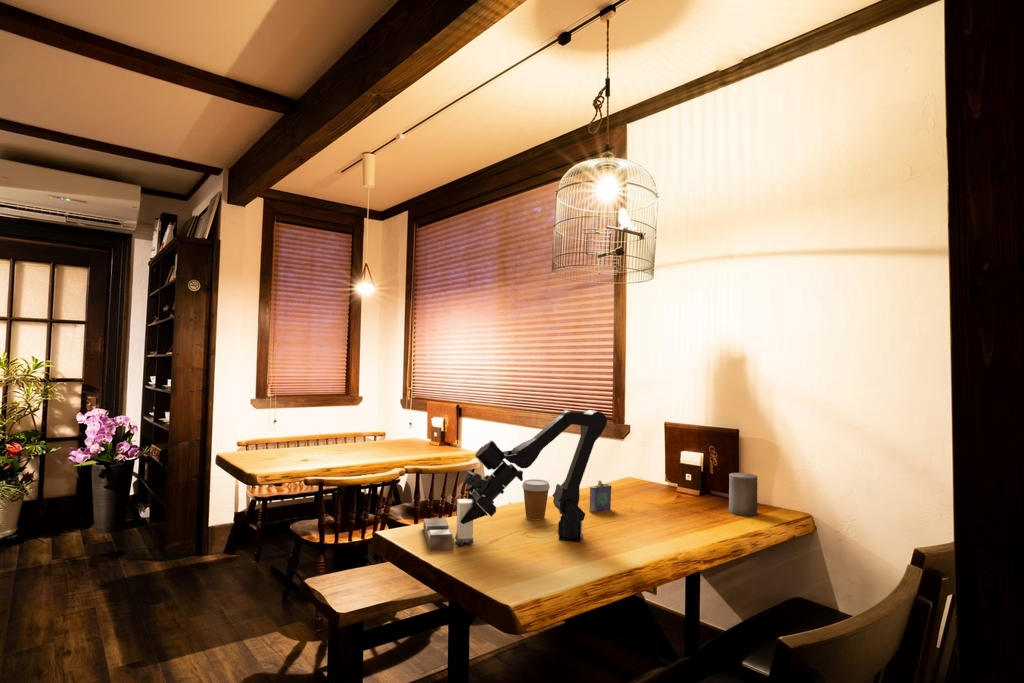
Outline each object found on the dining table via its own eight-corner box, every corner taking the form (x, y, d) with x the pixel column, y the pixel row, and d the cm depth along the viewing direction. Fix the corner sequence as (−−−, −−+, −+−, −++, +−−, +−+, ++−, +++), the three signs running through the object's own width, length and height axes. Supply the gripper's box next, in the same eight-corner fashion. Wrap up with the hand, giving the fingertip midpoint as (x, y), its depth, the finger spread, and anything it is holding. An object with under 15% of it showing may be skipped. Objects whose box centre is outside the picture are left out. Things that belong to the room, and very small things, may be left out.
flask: (592, 513, 202) (592, 482, 202) (586, 511, 204) (587, 481, 205) (612, 510, 206) (613, 480, 207) (607, 508, 209) (607, 479, 209)
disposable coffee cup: (547, 522, 188) (548, 486, 189) (518, 520, 190) (519, 483, 191) (551, 515, 198) (551, 480, 198) (523, 512, 200) (524, 478, 200)
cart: (470, 539, 169) (472, 498, 169) (473, 545, 163) (475, 503, 163) (454, 540, 167) (455, 498, 168) (457, 546, 162) (458, 503, 162)
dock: (445, 527, 179) (445, 514, 180) (453, 549, 159) (454, 534, 159) (423, 528, 178) (423, 515, 178) (429, 550, 158) (429, 535, 158)
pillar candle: (763, 516, 204) (763, 473, 205) (739, 516, 202) (740, 474, 203) (745, 509, 214) (746, 468, 214) (723, 510, 211) (723, 469, 212)
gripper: (474, 456, 176) (437, 493, 173) (485, 467, 158) (444, 509, 155) (499, 481, 178) (462, 518, 175) (512, 495, 159) (472, 537, 156)
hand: (460, 520), depth 165 cm, fingers open, 5 cm apart
